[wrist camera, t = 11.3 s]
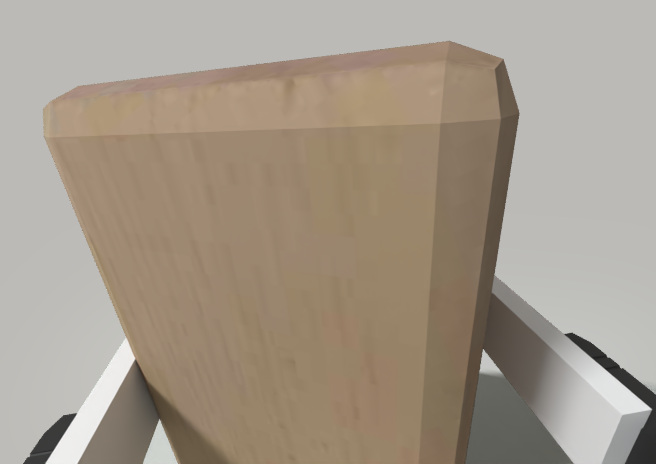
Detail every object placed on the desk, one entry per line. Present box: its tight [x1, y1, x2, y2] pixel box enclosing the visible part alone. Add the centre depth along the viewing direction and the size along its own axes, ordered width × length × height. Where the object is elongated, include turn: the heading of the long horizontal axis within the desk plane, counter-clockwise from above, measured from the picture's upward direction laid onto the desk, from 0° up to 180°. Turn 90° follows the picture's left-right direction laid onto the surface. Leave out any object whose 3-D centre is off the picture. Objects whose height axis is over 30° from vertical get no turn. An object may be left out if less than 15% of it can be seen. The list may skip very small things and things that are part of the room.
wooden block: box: [43, 41, 519, 464], centre depth 13 cm, size 10×10×20 cm
